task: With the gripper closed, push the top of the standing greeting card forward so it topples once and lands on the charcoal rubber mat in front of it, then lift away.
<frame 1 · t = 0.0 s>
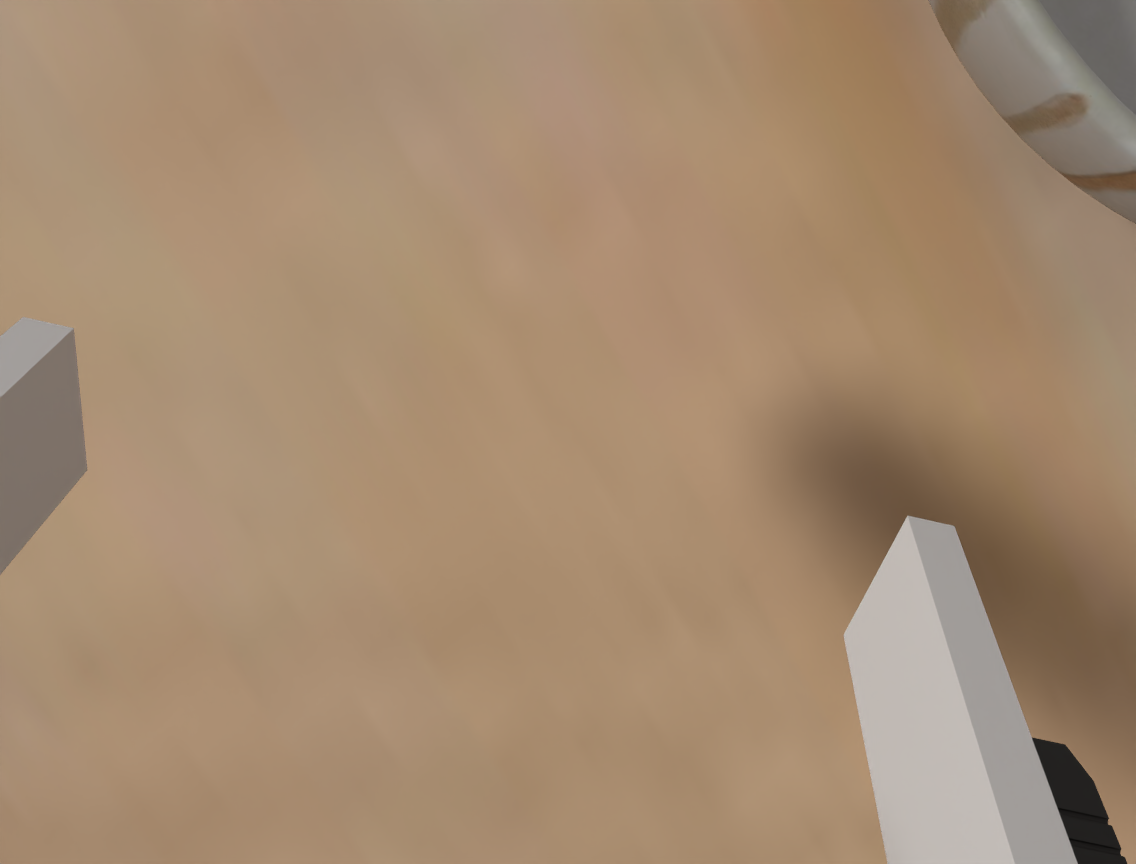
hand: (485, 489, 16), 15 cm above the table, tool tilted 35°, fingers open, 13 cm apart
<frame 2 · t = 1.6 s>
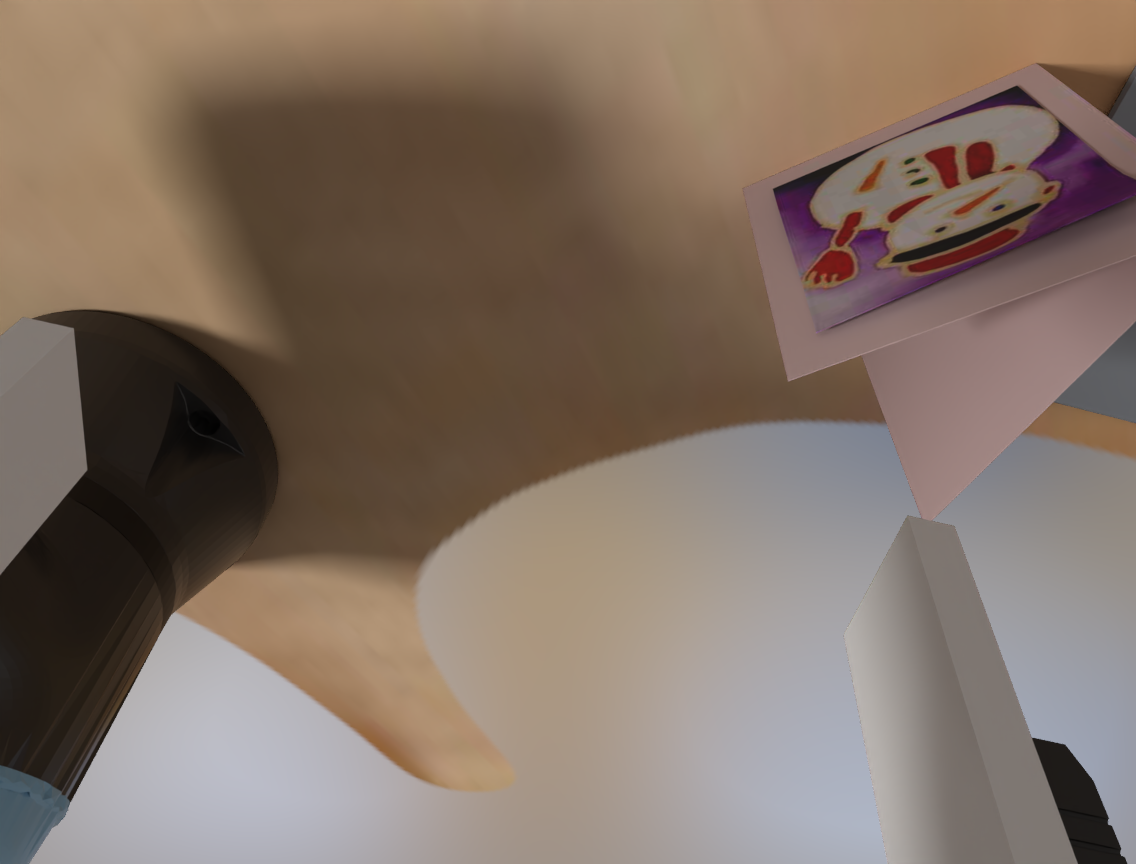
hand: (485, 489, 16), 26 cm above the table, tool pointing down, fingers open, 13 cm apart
greeting card: (902, 191, 39), on the table
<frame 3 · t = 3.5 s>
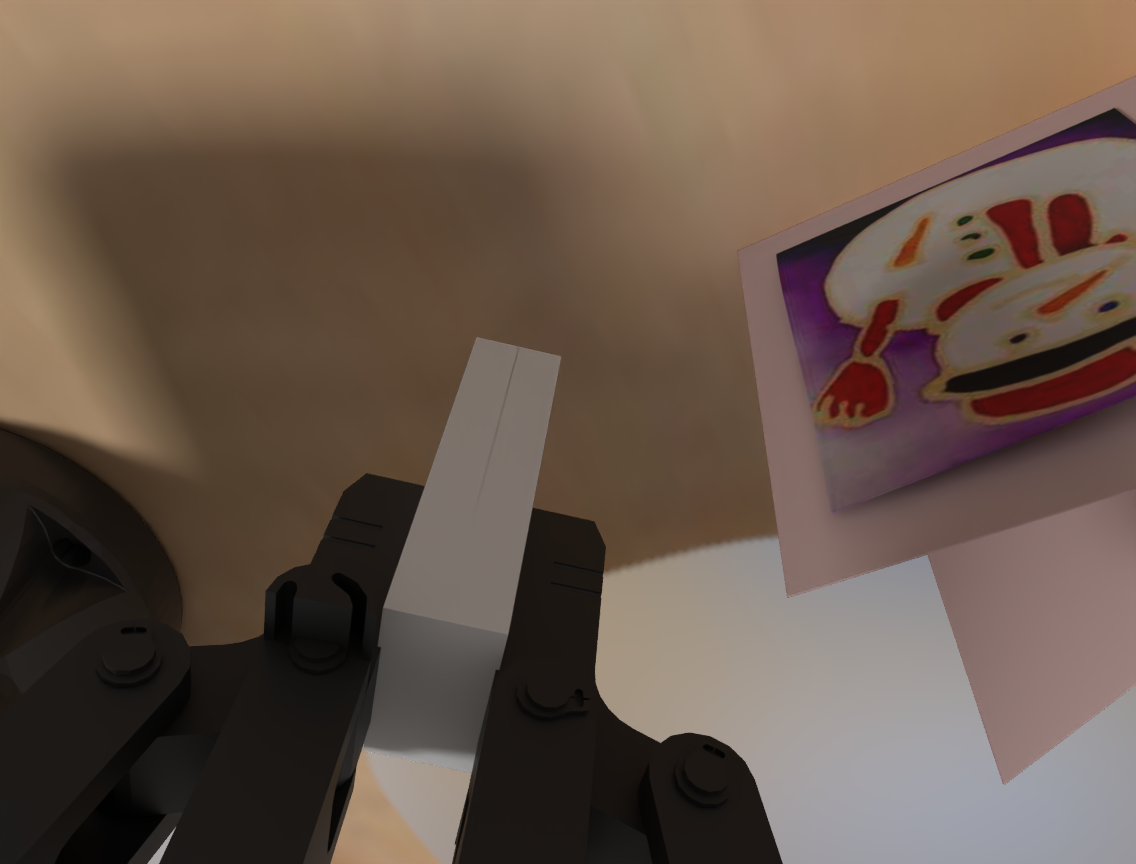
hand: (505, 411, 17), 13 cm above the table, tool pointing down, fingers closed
greeting card: (952, 249, 29), on the table
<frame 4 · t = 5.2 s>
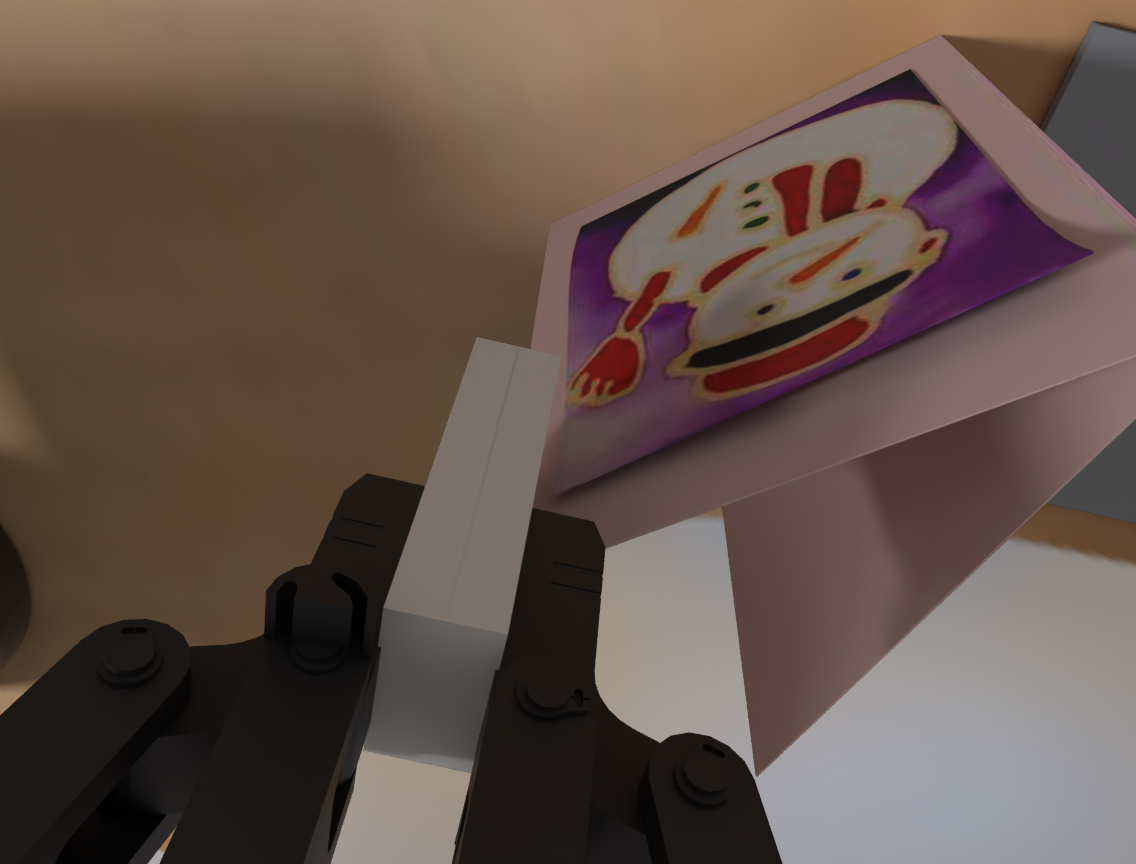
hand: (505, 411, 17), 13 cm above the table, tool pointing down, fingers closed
greeting card: (770, 220, 28), on the table, touching gripper
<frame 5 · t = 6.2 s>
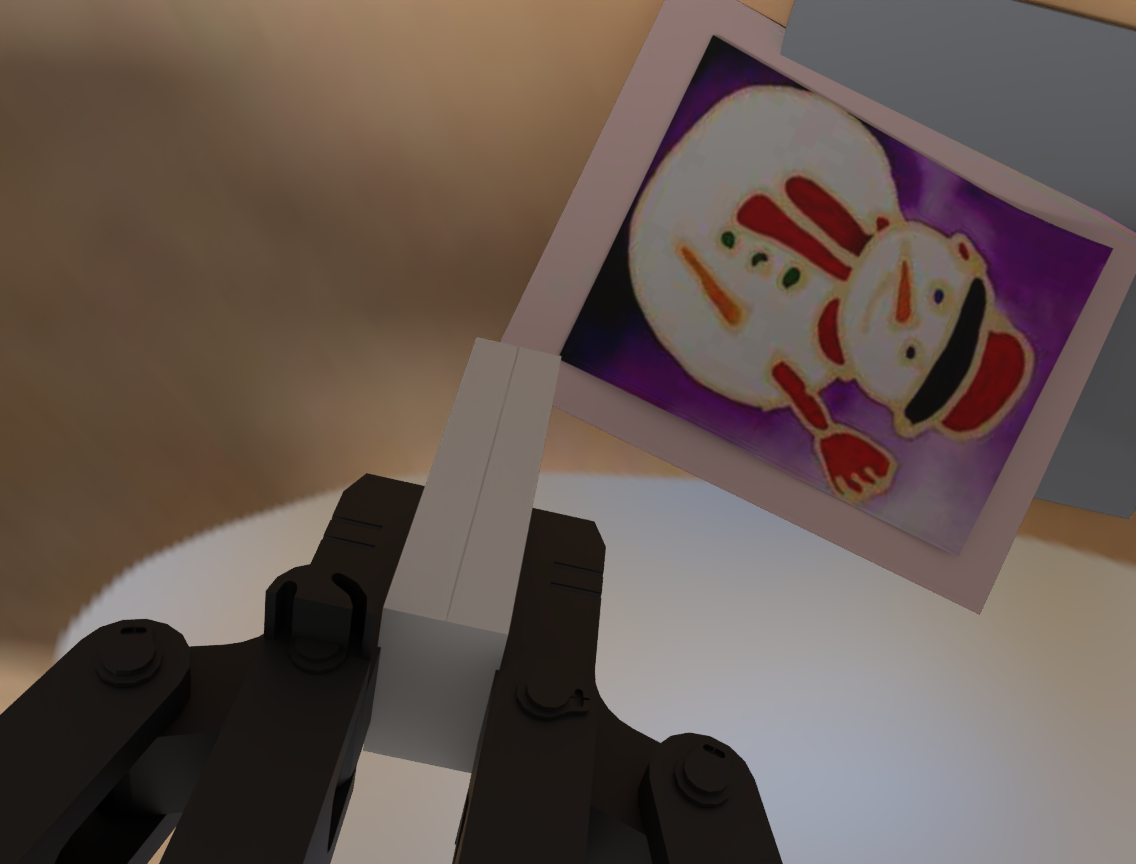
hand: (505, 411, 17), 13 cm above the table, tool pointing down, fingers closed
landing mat: (991, 272, 29), on the table
greeting card: (559, 188, 27), point 1 cm above the table, touching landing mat
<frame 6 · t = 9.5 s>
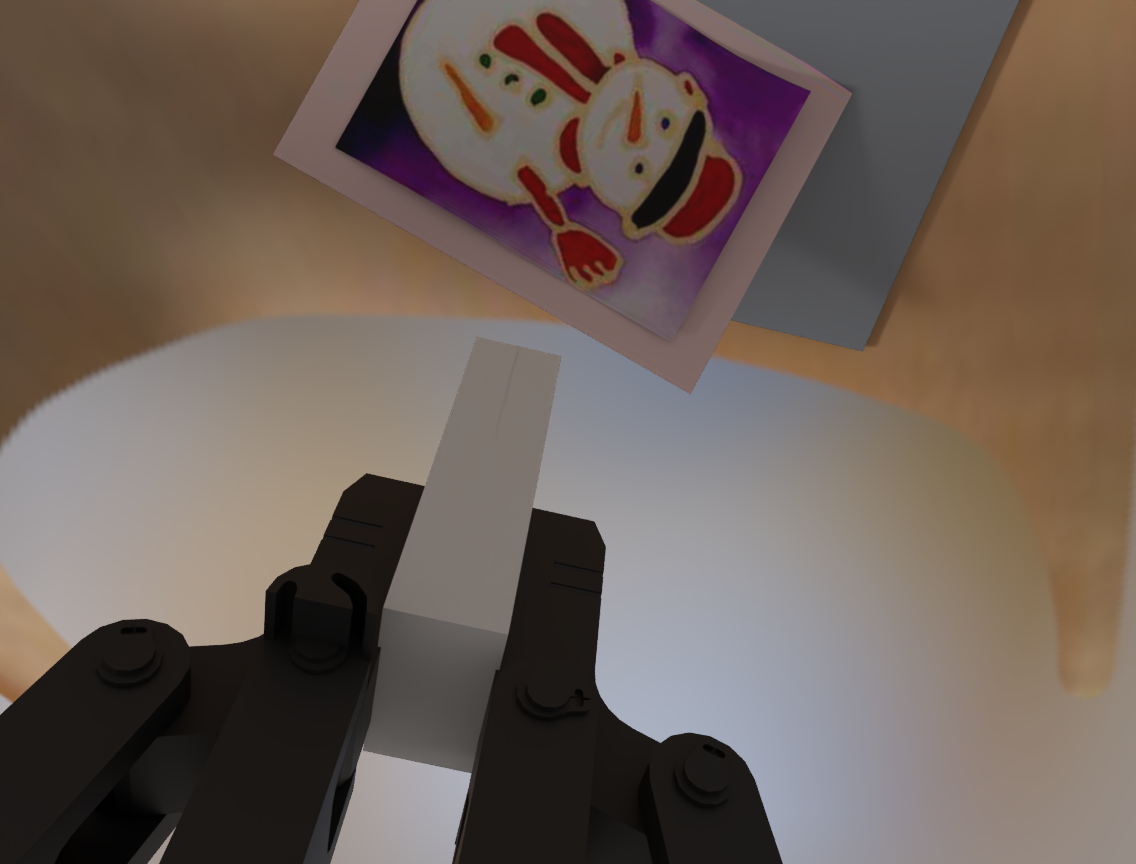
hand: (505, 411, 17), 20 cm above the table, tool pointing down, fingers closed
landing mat: (715, 123, 34), on the table
greeting card: (362, 21, 33), point 1 cm above the table, touching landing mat
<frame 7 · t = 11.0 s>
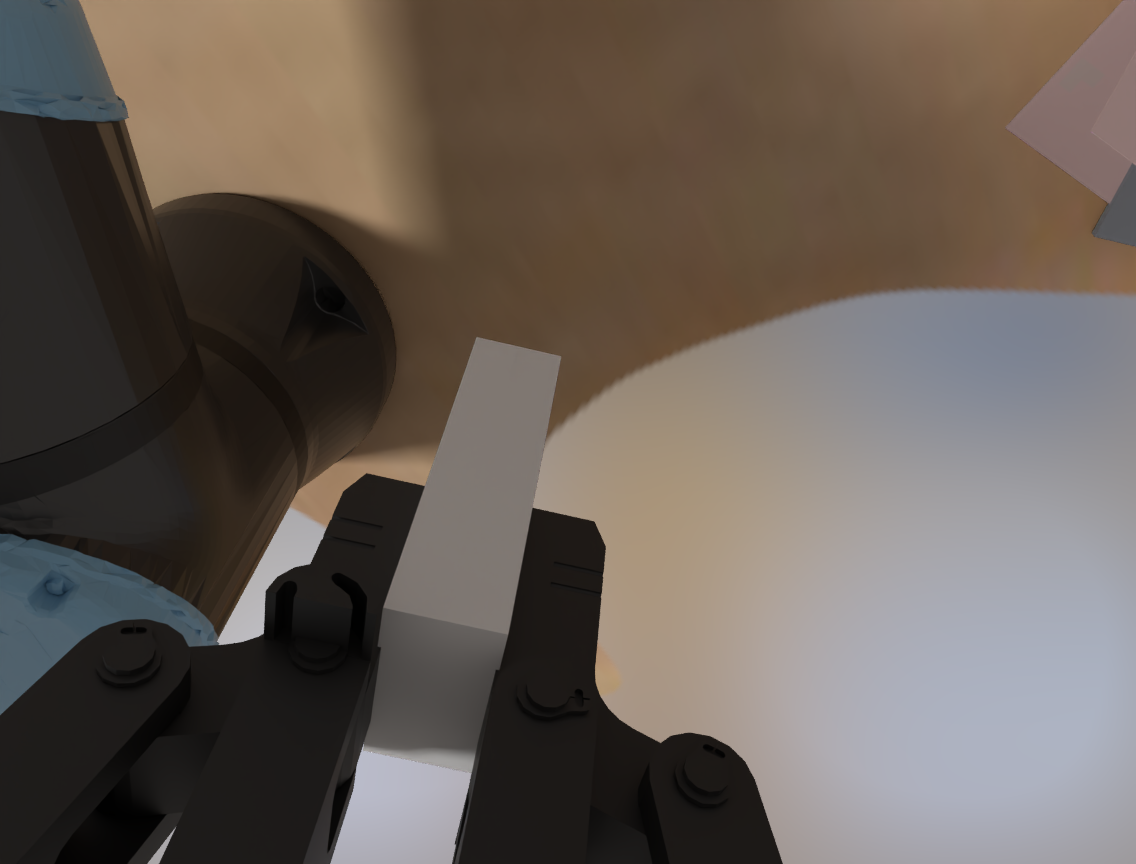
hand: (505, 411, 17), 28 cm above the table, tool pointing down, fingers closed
greeting card: (1106, 18, 37), point 1 cm above the table, touching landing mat
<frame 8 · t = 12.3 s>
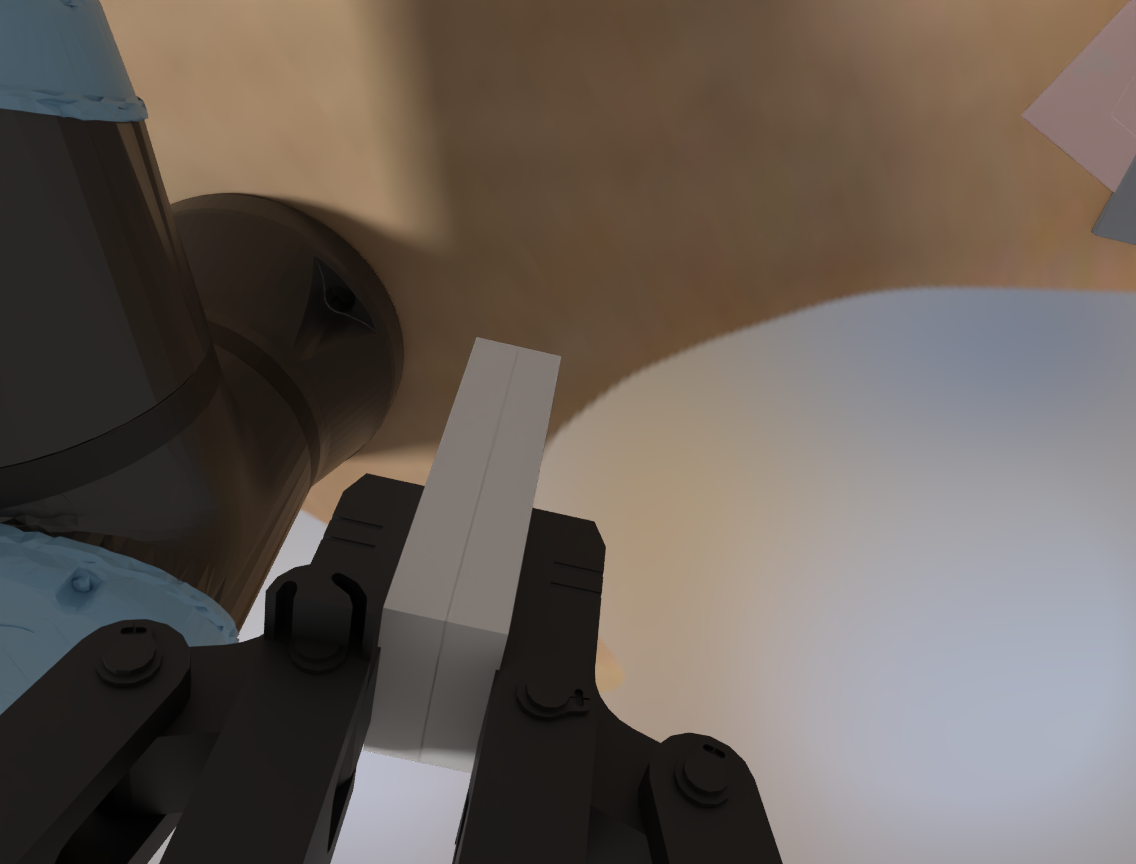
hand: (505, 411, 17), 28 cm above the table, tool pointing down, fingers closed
greeting card: (1124, 6, 38), point 1 cm above the table, touching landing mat
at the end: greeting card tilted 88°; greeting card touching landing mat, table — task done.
